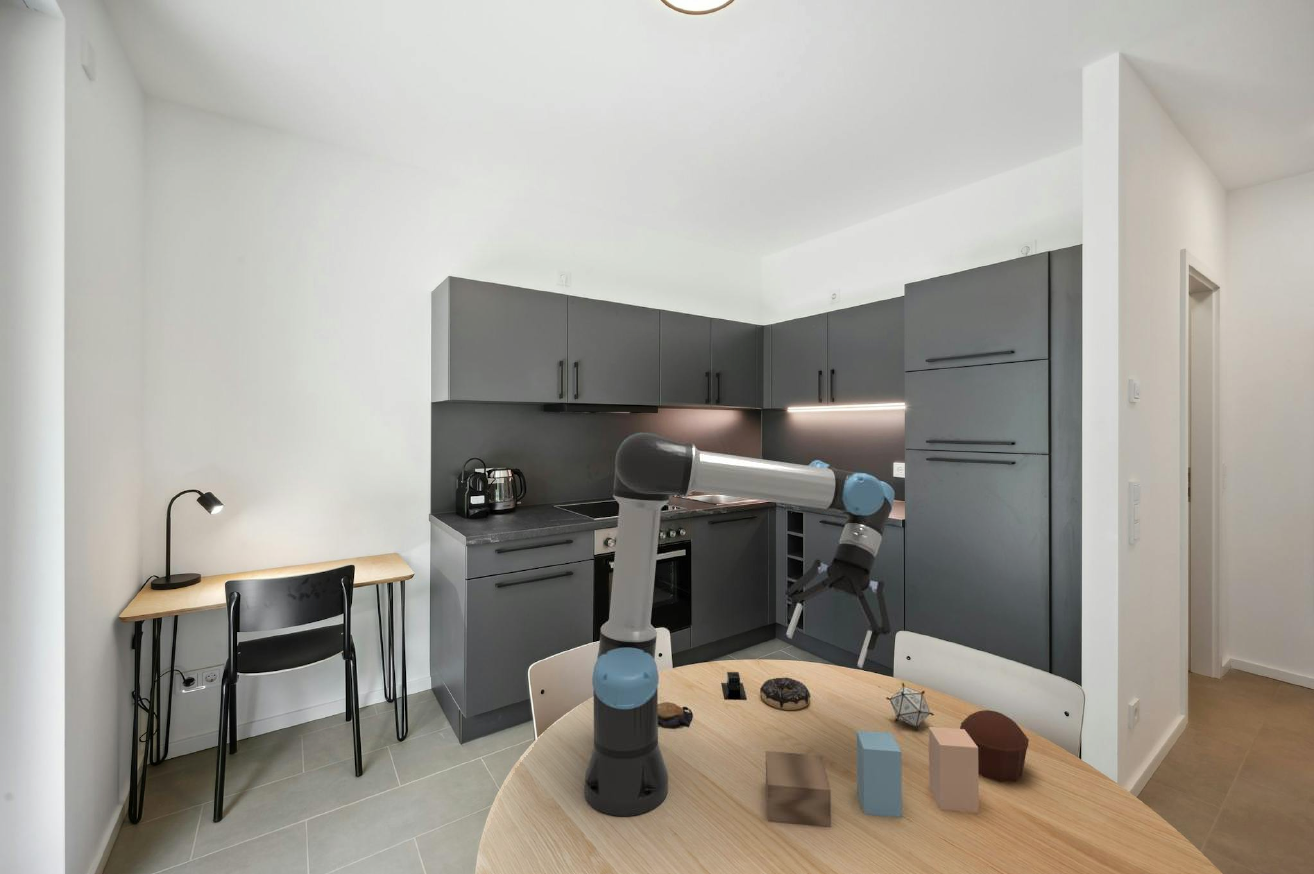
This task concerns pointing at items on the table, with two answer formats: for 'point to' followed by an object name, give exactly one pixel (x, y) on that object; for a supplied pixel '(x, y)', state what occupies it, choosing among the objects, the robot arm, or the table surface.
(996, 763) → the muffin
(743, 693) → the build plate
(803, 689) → the donut
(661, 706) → the brown and black lump
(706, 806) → the table surface
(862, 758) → the blue brick
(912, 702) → the game die
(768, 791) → the base block
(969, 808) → the clay brick
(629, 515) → the robot arm
